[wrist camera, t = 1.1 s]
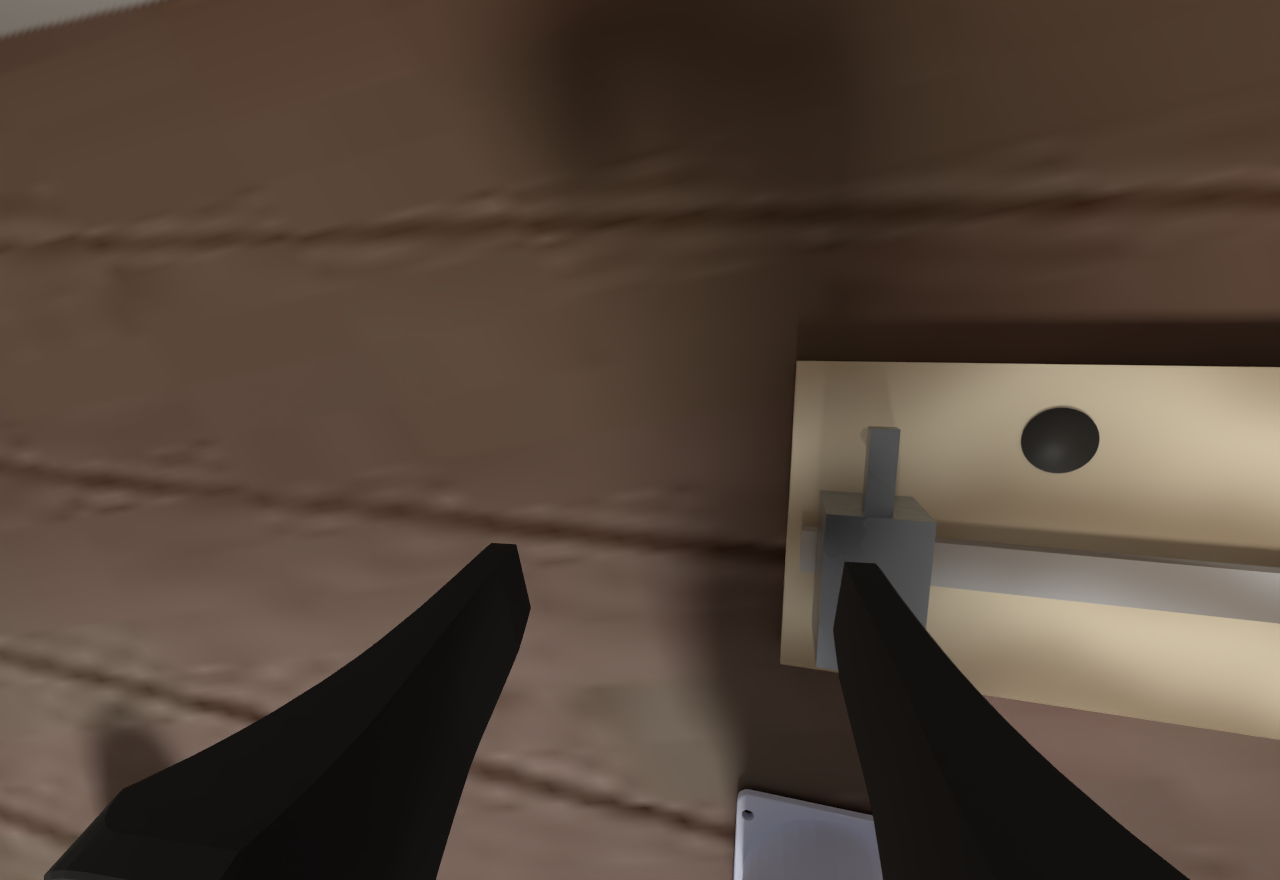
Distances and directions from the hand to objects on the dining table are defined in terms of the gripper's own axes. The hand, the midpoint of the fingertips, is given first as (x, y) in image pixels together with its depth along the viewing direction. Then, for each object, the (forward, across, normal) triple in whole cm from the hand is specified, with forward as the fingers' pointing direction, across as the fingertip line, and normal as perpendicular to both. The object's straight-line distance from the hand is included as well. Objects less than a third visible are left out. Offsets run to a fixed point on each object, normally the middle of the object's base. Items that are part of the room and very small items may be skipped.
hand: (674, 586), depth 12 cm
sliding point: (+7, -6, +4) cm, 10 cm away
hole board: (+8, -15, +5) cm, 18 cm away
